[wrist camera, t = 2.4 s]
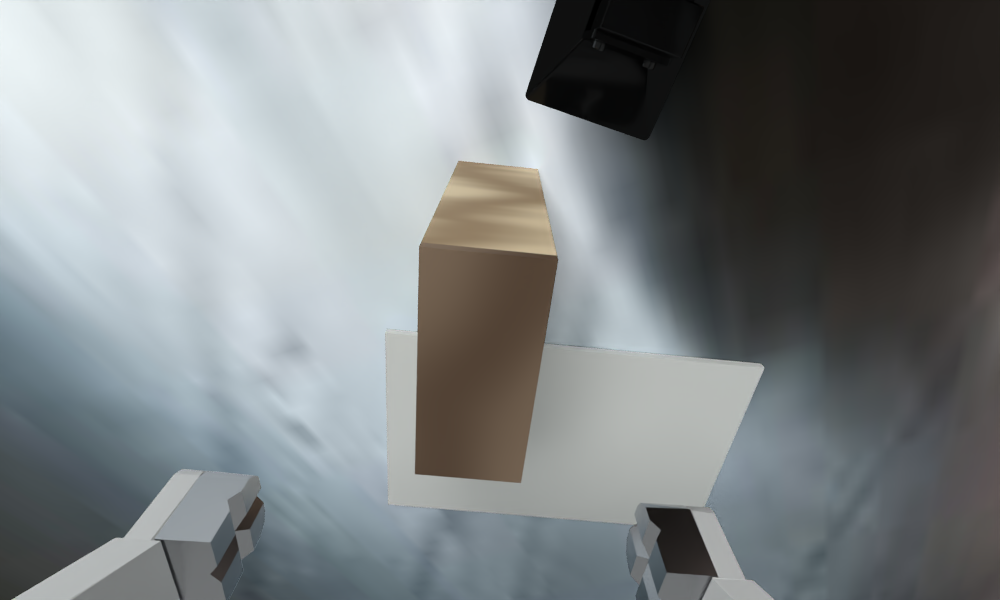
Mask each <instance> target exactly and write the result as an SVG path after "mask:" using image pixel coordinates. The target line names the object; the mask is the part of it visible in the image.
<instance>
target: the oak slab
mask: <svg viewBox="0 0 1000 600" xmlns="http://www.w3.org/2000/svg"><path fill="white" fill-rule="evenodd" d="M557 263H558V258H557V253H556V249H555V245H554V240H553V236H552V231H551V227H550V222H549V218H548V213H547V209H546V204H545V200H544V195H543V191H542V186H541V182H540V177H539V173H538V169H532V168H523V167H513V166H503V165H493V164H484V163H474V162H464V161H458V163H457V166H456V168H455V170H454V172H453V174H452V176H451V179H450V181H449V183H448V185H447V187H446V190H445V192H444V194H443V196H442V198H441V200H440V203H439V205H438V207H437V209H436V211H435V213H434V216H433V218H432V220H431V222H430V224H429V227H428V229H427V231H426V233H425V235H424V237H423V240H422V242H421V244H420V246H419V286H418V336H417V387H416V438H415V474H418V475H430V476H442V477H454V478H465V479H477V480H489V481H501V482H513V483H521V480H522V474H523V468H524V462H525V456H526V450H527V444H528V438H529V432H530V426H531V420H532V414H533V408H534V402H535V396H536V390H537V384H538V378H539V372H540V366H541V359H542V353H543V347H544V341H545V335H546V329H547V323H548V317H549V311H550V305H551V299H552V293H553V287H554V281H555V275H556V269H557Z"/></svg>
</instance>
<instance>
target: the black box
mask: <svg viewBox="0 0 1000 600" xmlns="http://www.w3.org/2000/svg"><path fill="white" fill-rule="evenodd" d="M709 2H710V0H556V3H555V6H554V9H553V12H552V15H551V18H550V21H549V24H548V27H547V31H546V34H545V37H544V40H543V43H542V46H541V49H540V52H539V55H538V58H537V61H536V64H535V67H534V70H533V73H532V76H531V79H530V82H529V85H528V89H527V92H526V98H527V99H528V100H530V101H533V102H536V103H539V104H542V105H544V106H547V107H550V108H553V109H556V110H559V111H562V112H564V113H567V114H570V115H573V116H576V117H579V118H582V119H585V120H587V121H590V122H593V123H596V124H599V125H602V126H605V127H607V128H610V129H613V130H616V131H619V132H622V133H625V134H627V135H630V136H633V137H636V138H639V139H642V140H647V139H648V138H649V136H650V134H651V132H652V130H653V128H654V125H655V123H656V121H657V119H658V116H659V114H660V112H661V110H662V107H663V105H664V103H665V101H666V98H667V96H668V94H669V92H670V90H671V87H672V85H673V83H674V81H675V78H676V76H677V74H678V72H679V69H680V67H681V65H682V63H683V61H684V58H685V56H686V54H687V52H688V49H689V47H690V45H691V43H692V40H693V38H694V36H695V34H696V31H697V29H698V27H699V25H700V23H701V20H702V18H703V16H704V14H705V11H706V9H707V7H708V5H709Z"/></svg>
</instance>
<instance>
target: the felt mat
mask: <svg viewBox="0 0 1000 600" xmlns="http://www.w3.org/2000/svg"><path fill="white" fill-rule="evenodd" d="M417 336H418V332H414V331H403V330H393V329H387V330H386V332H385V347H386V405H387V463H388V505H400V506H412V507H424V508H436V509H448V510H460V511H472V512H484V513H496V514H509V515H521V516H533V517H545V518H557V519H569V520H581V521H593V522H605V523H617V524H630V525H635V524H637V522H636V518H635V515H634V514H635V511H636V508H637V506H638V505H639V504H640V503H653V504H670V505H684V506H696V507H704V506H705V504H706V502H707V500H708V497H709V495H710V493H711V490H712V488H713V486H714V483H715V481H716V479H717V476H718V474H719V472H720V470H721V467H722V465H723V463H724V460H725V458H726V456H727V453H728V451H729V449H730V446H731V444H732V442H733V439H734V437H735V435H736V433H737V430H738V428H739V426H740V423H741V421H742V419H743V416H744V414H745V412H746V409H747V407H748V405H749V402H750V400H751V398H752V396H753V393H754V391H755V389H756V386H757V384H758V382H759V379H760V377H761V375H762V372H763V370H764V367H763V366H762V364H759V363H749V362H738V361H727V360H716V359H706V358H695V357H684V356H673V355H662V354H652V353H641V352H630V351H619V350H608V349H598V348H587V347H576V346H565V345H555V344H544V347H543V353H542V359H541V366H540V372H539V378H538V384H537V390H536V396H535V402H534V408H533V414H532V420H531V426H530V432H529V438H528V444H527V450H526V456H525V462H524V468H523V474H522V480H521V483H513V482H501V481H489V480H477V479H465V478H454V477H442V476H430V475H418V474H415V438H416V387H417Z"/></svg>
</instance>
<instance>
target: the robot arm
mask: <svg viewBox="0 0 1000 600" xmlns="http://www.w3.org/2000/svg"><path fill="white" fill-rule="evenodd" d="M260 489H261V485H260V481H259V477H258V476H253V475H243V474H233V473H223V472H213V471H200V470H189V469H182V470H180V471H179V472H177V473H175V474H174V475H173V476H172V478H171V479H170V480H169V481H168V483H167V484H166V485H165V486H164V488H163V489H162V490H161V491H160V493H159V494H158V495H157V496H156V498H155V499H154V500H153V502H152V503H151V504H150V505H149V507H148V508H147V509H146V510H145V512H144V513H143V514H142V515H141V517H140V518H139V519H138V520H137V522H136V523H135V524H134V526H133V527H132V528H131V529H130V531H129V532H128V533H127V534H126V536H125V537H124V538H115V539H113V540H111V541H109V542H108V543H106V544H104V545H103V546H101V547H99V548H98V549H96V550H94V551H93V552H91V553H89V554H88V555H86V556H84V557H83V558H81V559H79V560H78V561H76V562H74V563H73V564H71V565H69V566H68V567H66V568H64V569H62V570H61V571H59V572H57V573H56V574H54V575H52V576H51V577H49V578H47V579H46V580H44V581H42V582H41V583H39V584H37V585H36V586H34V587H32V588H31V589H29V590H27V591H26V592H24V593H22V594H21V595H19V596H17V597H15V598H14V599H12V600H229V598H230V596H231V594H232V592H233V591H234V589H235V587H236V585H237V583H238V581H239V579H240V577H241V575H242V573H243V566H242V561H241V559H243V558H244V557H245V556H247V555H248V554H249V553H251V552H252V551H253V550H254V549H255V547H256V545H257V543H258V541H259V539H260V536H261V533H262V529H263V525H264V522H265V507H264V503H263V502H262V501H261V500H260V499H259V498H258V497H257V494H258V493H259V491H260ZM634 515H635V518H636V522H637V524H635V525H634V526H633V527H631V528H630V530H629V533H628V537H627V548H626V554H627V562H628V567H629V571H630V575H631V576H632V577H633V578H634V580H635V581H636V582H637V583H638V584H639V588H638V591H637V594H636V600H774V599H773V598H772V597H771V596H770V595H769V594H768V593H767V592H766V591H764V590H763V589H762V588H761V587H760V586H759V585H758V584H757V583H756V582H754V581H753V580H746V579H745V577H744V574H743V572H742V570H741V568H740V566H739V564H738V562H737V560H736V558H735V555H734V553H733V551H732V549H731V547H730V545H729V543H728V541H727V539H726V537H725V534H724V532H723V530H722V528H721V526H720V524H719V522H718V520H717V518H716V515H715V513H714V512H713V511H712V510H711V509H710V508H709V507H696V506H684V505H670V504H653V503H640V504H639V505H638V506H637V508H636V511H635V514H634Z"/></svg>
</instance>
